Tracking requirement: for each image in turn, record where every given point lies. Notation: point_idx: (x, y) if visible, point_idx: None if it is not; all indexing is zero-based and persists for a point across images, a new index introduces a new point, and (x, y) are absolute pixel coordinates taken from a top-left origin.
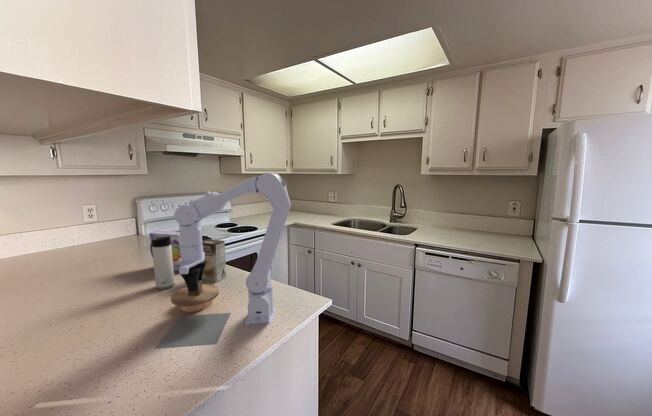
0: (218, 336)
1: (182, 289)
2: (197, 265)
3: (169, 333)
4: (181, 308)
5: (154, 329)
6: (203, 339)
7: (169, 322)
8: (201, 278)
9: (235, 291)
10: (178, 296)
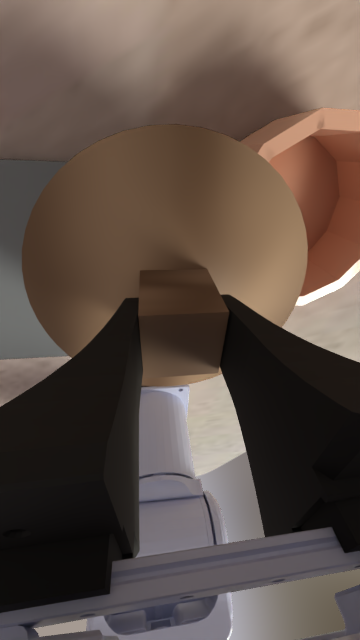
0: (34, 354)
1: (258, 180)
2: (284, 495)
3: (16, 177)
4: (242, 141)
5: (60, 43)
6: (9, 322)
7: (131, 117)
8: (225, 379)
9: (331, 320)
10: (130, 201)
